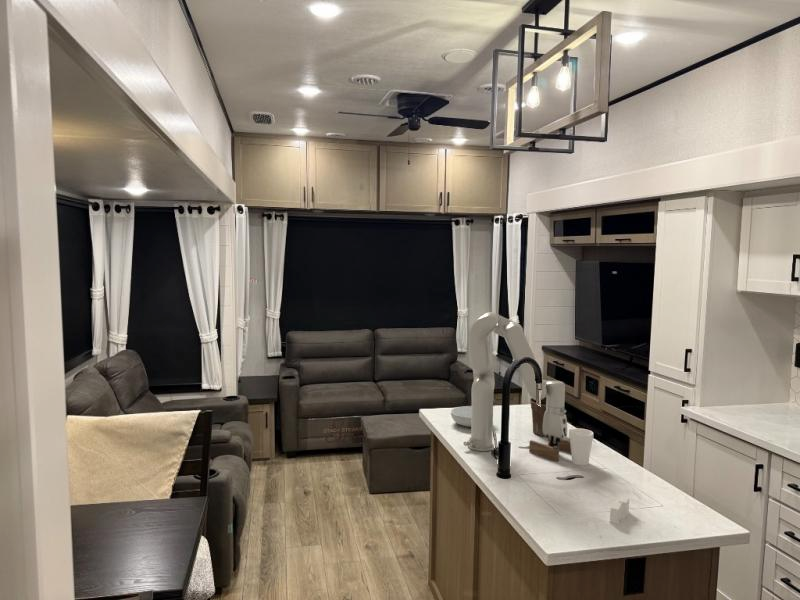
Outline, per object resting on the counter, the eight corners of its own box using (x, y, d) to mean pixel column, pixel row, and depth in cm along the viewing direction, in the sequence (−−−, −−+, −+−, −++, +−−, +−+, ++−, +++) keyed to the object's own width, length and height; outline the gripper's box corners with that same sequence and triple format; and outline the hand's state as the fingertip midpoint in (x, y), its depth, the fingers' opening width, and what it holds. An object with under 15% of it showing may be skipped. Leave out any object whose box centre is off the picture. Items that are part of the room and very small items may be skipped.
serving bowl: (445, 420, 281) (445, 407, 280) (482, 417, 286) (482, 405, 285) (458, 432, 261) (458, 418, 260) (498, 429, 266) (498, 415, 265)
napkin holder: (614, 530, 165) (615, 512, 165) (590, 514, 176) (591, 497, 176) (653, 523, 170) (654, 506, 170) (627, 508, 181) (628, 491, 180)
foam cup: (565, 458, 226) (566, 428, 225) (587, 458, 226) (588, 428, 225) (572, 466, 216) (573, 435, 216) (595, 467, 216) (596, 435, 216)
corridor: (556, 461, 222) (556, 447, 222) (529, 452, 233) (529, 439, 233) (577, 453, 231) (578, 440, 231) (550, 445, 242) (550, 432, 242)
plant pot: (567, 439, 252) (568, 405, 251) (533, 438, 252) (534, 404, 251) (558, 428, 268) (559, 397, 267) (525, 428, 268) (526, 396, 267)
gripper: (575, 412, 227) (573, 454, 228) (546, 404, 239) (544, 445, 240) (564, 415, 223) (562, 458, 224) (535, 407, 234) (534, 448, 235)
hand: (553, 451), depth 232 cm, fingers closed
